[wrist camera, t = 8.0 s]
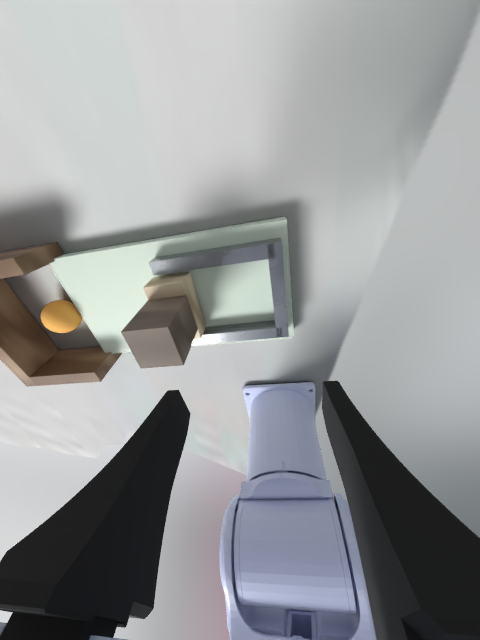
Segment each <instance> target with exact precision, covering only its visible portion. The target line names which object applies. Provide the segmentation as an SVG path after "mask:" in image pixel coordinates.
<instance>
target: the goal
mask: <svg viewBox="0 0 480 640" xmlns="http://www.w3.org/2000/svg"><path fill="white" fill-rule="evenodd" d="M63 254H64V253H63V252H62V250H61V248H60V246H59V245H58V243H57V242H55V243H50V244H44V245H39V246H33V247H28V248H22V249H17V250H11V251H6V252H0V360H1V361H2V362H3V363H4V364H5V365H6V366H7V367H8V368H9V369H10V370H11V371H12V372H13V373H14V374H15V375H16V376H17V377H18V378H19V379H20V380H21V381H22V382H23V383H24V384H25V385H26V386H40V385H55V384H70V383H85V382H100V381H102V379H103V378H104V377H105V375H106V374H107V373H108V371H109V370H110V369H111V367H112V366H113V365H114V363H115V362H116V361H117V359H118V358H119V357H120V355H121V354H122V353H114V354H112V353H111V352H108V353H105V352H104V350H103V349H102V347H101V346H98V347H88V348H77V349H66V350H59V349H58V348H57V347H56V345H55V344H54V343H53V342H52V340H51V339H50V338H49V336H48V335H47V334H46V333H45V331H44V330H43V329H42V327H41V326H40V325H39V323H38V322H37V321H36V320H35V318H34V317H33V316H32V314H31V313H30V312H29V310H28V309H27V308H26V307H25V305H24V304H23V303H22V301H21V300H20V299H19V298H18V296H17V295H16V294H15V292H14V291H13V290H12V288H11V287H10V286H9V285H8V283H7V282H6V281H5V279H4V278H8V277H14V276H20V275H25V274H28V273H30V272H32V271H34V270H37V269H39V268H41V267H43V266H45V265H48V264H50V263H52V262H54V258H57V257H59V256H61V255H63Z"/></svg>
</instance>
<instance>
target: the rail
mask: <svg viewBox="0 0 480 640" xmlns="http://www.w3.org/2000/svg"><path fill="white" fill-rule="evenodd" d="M266 259H268V262H269V271H270V280H271V289H272V298H273V307H274V316H275V320H270V321H260V322H250V323H240V324H230V325H221V326H211V327H205V330H204V333H203V335H202V338H201V339H196V340H193V343H192V345H200V344H211V343H223V342H234V341H245V340H257V339H268V338H279V337H289V331H288V317H287V304H286V290H285V277H284V263H283V250H282V241H281V238H275V239H268V240H262V241H255V242H249V243H243V244H236V245H230V246H224V247H217V248H211V249H204V250H198V251H192V252H185V253H179V254H173V255H166V256H160V257H155V258H153V259H152V260H151V261H150V262H149V265H150V268H151V270H152V273H153V275H161V274H168V273H175V272H182V271H189V270H196V269H203V268H210V267H217V266H224V265H231V264H238V263H245V262H252V261H259V260H266Z"/></svg>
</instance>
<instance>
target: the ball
mask: <svg viewBox="0 0 480 640" xmlns="http://www.w3.org/2000/svg"><path fill="white" fill-rule="evenodd" d="M41 321H42V323H43V325H44V326H45V327H46V328H47V329H49V330H51V331H53V332H57V333H67V332H70V331H73V330H74V329H76V328H77V327H78V326H79V325H80V323H81V321H82V316H81V314H80V313H79V311H78V310H77V308H76V307H75V305H74V303H72V302H69V301H65V300H57V301H53V302H51V303H49V304H47V305H46V306H45V307H44V308H43V310H42V312H41Z"/></svg>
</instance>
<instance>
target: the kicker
mask: <svg viewBox="0 0 480 640" xmlns="http://www.w3.org/2000/svg"><path fill="white" fill-rule="evenodd" d="M143 289H144V291H145V294H146V296H147V298H148V301H147V302H146V303H145V304H144V305H143V307H142V308H141V309H140V310H139V311H138V312H137V314H136V315H135V316H134V317H133V318H132V319H131V321H130V322H129V323H128V324H127V325H126V326H125V327H124V329H123V330H122V331H121V334H122V335H123V337H124V339H125V341H126V343H127V344H128V346H129V348H130V350H131V352H132V353H133V355H134V357H135V359H136V361H137V362H138V364H139V366H140V368H152V367H165V366H179V365H184V363H185V360H186V358H187V355H188V353H189V350H190V348H191V345H192V343H193V340H196V339H201V338H202V335H203V333H204V330H205V327H206V323H205V320H204V316H203V313H202V310H201V306H200V303H199V300H198V297H197V293H196V290H195V287H194V283H193V280H192V277H191V274H190V272H184V273H177V274H170V275H163V276H156V277H153V278H152V279H151V280H150V281H149V282H148V283H147V284H146V285H145V286H144V287H143Z"/></svg>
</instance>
